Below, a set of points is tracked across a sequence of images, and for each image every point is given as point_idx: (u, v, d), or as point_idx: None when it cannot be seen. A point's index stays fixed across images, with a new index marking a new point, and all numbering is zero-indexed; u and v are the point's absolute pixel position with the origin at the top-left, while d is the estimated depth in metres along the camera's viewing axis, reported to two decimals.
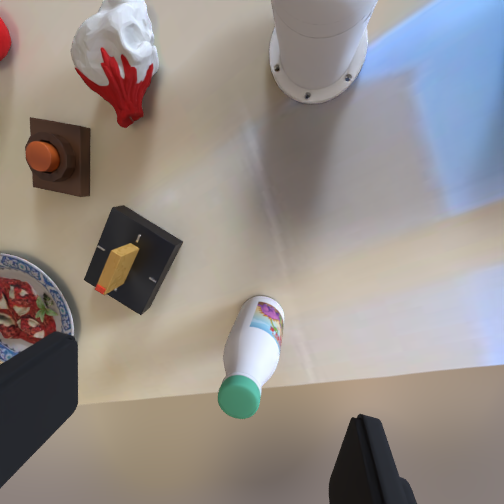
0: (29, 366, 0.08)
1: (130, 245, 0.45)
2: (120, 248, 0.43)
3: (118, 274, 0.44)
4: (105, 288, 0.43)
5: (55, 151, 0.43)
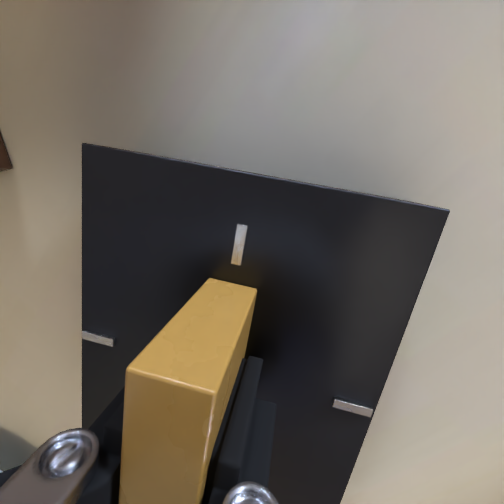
0: None
1: (216, 288, 0.09)
2: (181, 323, 0.07)
3: None
4: None
5: None
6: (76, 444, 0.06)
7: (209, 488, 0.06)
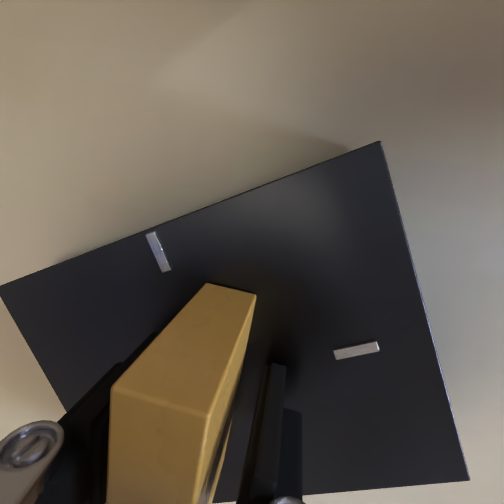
0: None
1: (213, 294, 0.09)
2: (174, 334, 0.06)
3: (210, 486, 0.07)
4: None
5: None
6: (39, 436, 0.06)
7: (242, 502, 0.06)
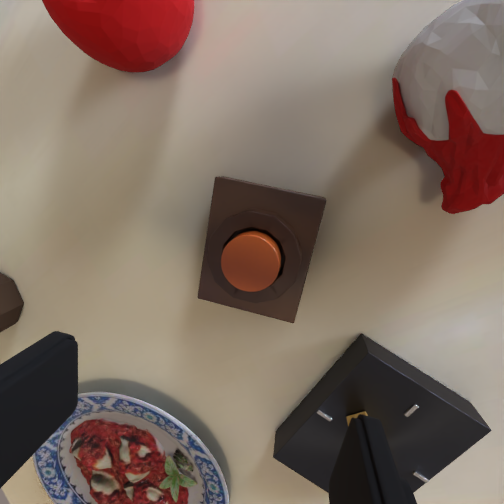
0: (29, 366, 0.08)
1: None
2: None
3: None
4: None
5: (279, 251, 0.21)
6: None
7: None
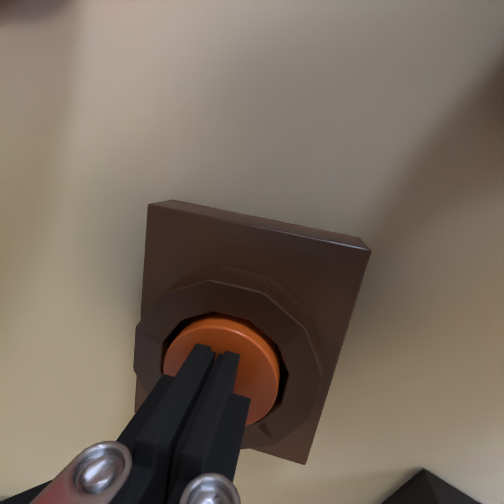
0: (196, 377, 0.08)
1: None
2: None
3: None
4: None
5: (277, 348, 0.11)
6: (110, 458, 0.06)
7: (174, 480, 0.06)
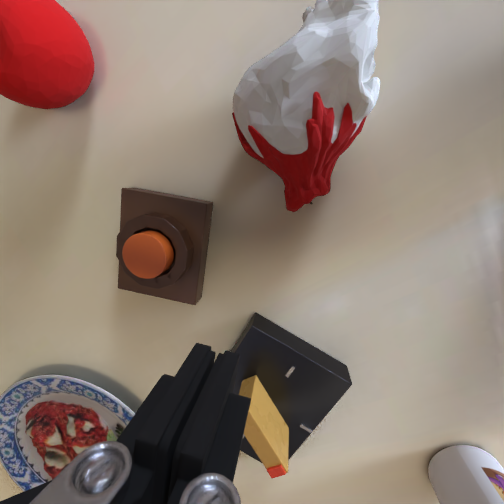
0: (196, 377, 0.08)
1: (244, 383, 0.29)
2: None
3: (272, 430, 0.27)
4: (279, 464, 0.26)
5: (169, 245, 0.27)
6: (110, 458, 0.06)
7: (174, 480, 0.06)
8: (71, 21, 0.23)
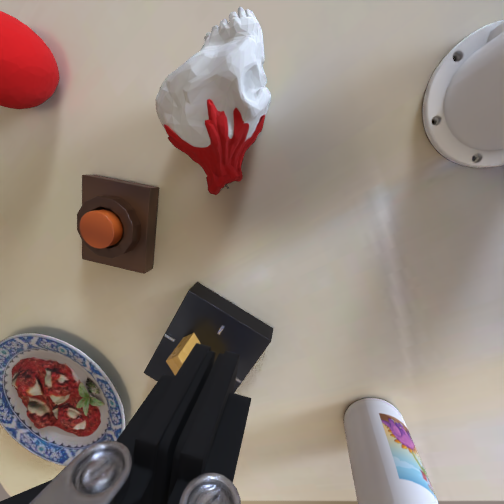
0: (196, 377, 0.08)
1: (183, 339, 0.35)
2: (174, 350, 0.33)
3: None
4: None
5: (118, 222, 0.33)
6: (110, 458, 0.06)
7: (175, 480, 0.06)
8: (35, 39, 0.29)
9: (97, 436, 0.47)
